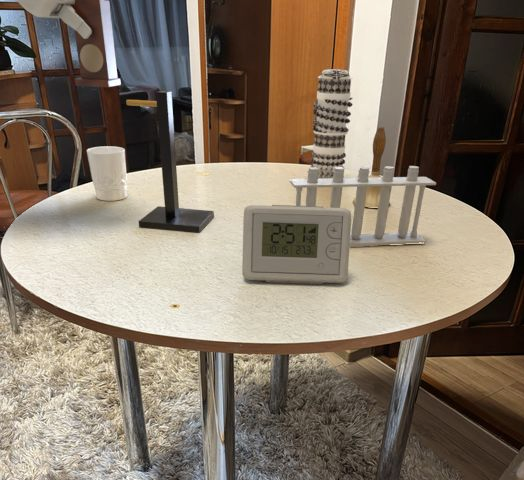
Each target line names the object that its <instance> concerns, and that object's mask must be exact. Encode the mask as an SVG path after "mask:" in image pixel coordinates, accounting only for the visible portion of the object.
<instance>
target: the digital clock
mask: <svg viewBox="0 0 524 480" xmlns="http://www.w3.org/2000/svg"><path fill="white" fill-rule="evenodd" d="M242 225H243V226H242V230H243V231H242V262H241V263H242V266H241V267H242V269H241V271H242V277H243V278H244V279H245V280H249V281H265V283H276V284H277V283H279V284H280V283H281V284H306V285H308V284H309V285H324V283H333V284H335V283H336V284H339V283H340V284H341V283H344V282H346V281H347V279H348V276H349V261H350V248H351V247H350V235H351V234H352V212H351V210H350V209H349V208H346V207H340V208H330V207H325V206H323V205H322V206H321V205H320V206H319V205H316V206H306V205H301V206H296V205H290V204H289V205H288V204H272V205H261V204H252V205H251V204H249V205H247V206H245V208H244V210H243V223H242Z"/></svg>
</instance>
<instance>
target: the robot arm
mask: <svg viewBox="0 0 524 480" xmlns="http://www.w3.org/2000/svg"><path fill="white" fill-rule="evenodd" d="M15 1H16V2H17V3H18V4H19V5H20V6H21V7H22V8H23V9H25V10H26V11H27V12H29V13H30V14H31V15H33V16H34V17H36V18H44V19H45V18H47V19H61V21H62V22H64V24H66V25H67V26H69V27H70V28H71V29H72V30H74V29H75V30H76V31H77V32H78V33H79V34H80V35H81V36H82V37H83V38H84V39H90V38H91V37H92V35H93V34H94V29H93V28H92V27H91V26H90V24H89V23H88V22H84V20H83V19H82V18H81V17H79V16H78V15H77V14H76V13H75V10H74V9H73V8H72V7H71V4H75V0H15Z"/></svg>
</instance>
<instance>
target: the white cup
mask: <svg viewBox="0 0 524 480" xmlns="http://www.w3.org/2000/svg"><path fill="white" fill-rule="evenodd" d="M86 156H87V160H88V167H89V171H90V176H91V180H92V185H93V186H94V192H95V196H96V199H97V200H100V201H106V202H115V201H120V200H124V199H126V198H127V197H128V185H127V184H128V176H127V160H126V149H125V148H124V147H120V146H114V145H113V146H110V145H109V146H108V145H107V146H105V145H104V146H95V147H90V148H87V149H86Z"/></svg>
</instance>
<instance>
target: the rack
mask: <svg viewBox="0 0 524 480" xmlns="http://www.w3.org/2000/svg"><path fill="white" fill-rule="evenodd" d="M172 93H173V92H172V91H171V90H159V91H156V92H155V100H142V99H126V101H125V103H126V106H133V107H134V106H135V107H154V108H156V111H157V125H158V139H159V149H160V150H159V151H160V152H159V153H160V163H161V176H162V187H163V199H164V206H160V205H159V206H156V207H155V208H154V209H152V210H151V211H150V212H148V213H147V214H146V215H145V216H143V217H142V218H141V219H139V220H138V228H143V229H154V230H163V231H164V230H165V231H173V232H174V231H175V232H185V233H196V234H200V233H201V232H202V231H203V229H204V228H205V227H206V226H207V225H208V224H209V223H210V222H211V221H212V220H213V219H214V218H215V211H214V210H207V209H206V210H205V209H194V208H193V209H192V208H183V207H182V208H181V207H180V202H179V189H178V188H179V187H178V173H177V172H178V171H177V157H176V141H175V140H176V139H175V125H174V111H173V95H172Z"/></svg>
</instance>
